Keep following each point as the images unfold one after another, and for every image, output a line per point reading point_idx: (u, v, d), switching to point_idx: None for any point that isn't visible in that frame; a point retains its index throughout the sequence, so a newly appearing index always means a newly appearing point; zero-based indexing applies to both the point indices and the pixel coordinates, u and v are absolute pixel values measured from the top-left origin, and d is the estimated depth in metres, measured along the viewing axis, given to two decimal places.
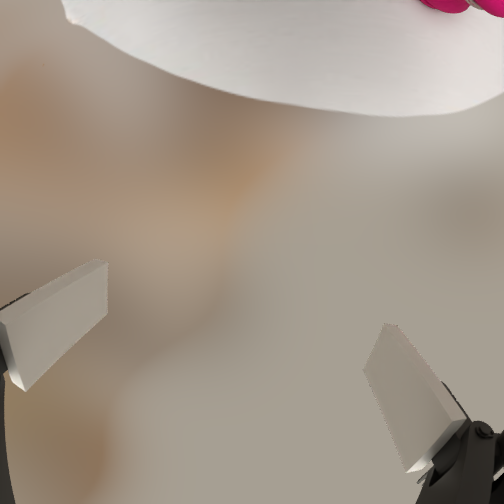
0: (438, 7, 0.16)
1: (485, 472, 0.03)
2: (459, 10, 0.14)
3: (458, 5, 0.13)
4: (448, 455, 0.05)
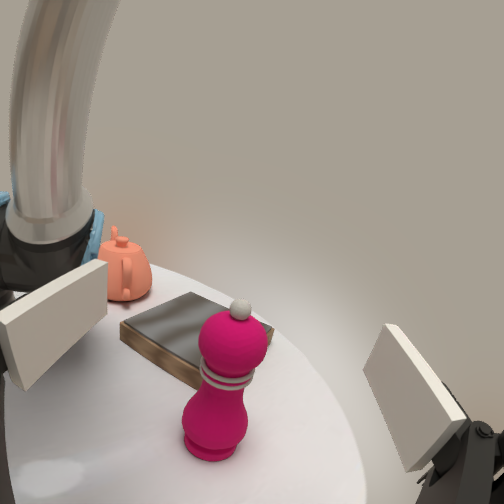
0: (230, 442, 0.23)
1: (485, 472, 0.03)
2: (244, 420, 0.25)
3: (237, 413, 0.24)
4: (448, 455, 0.05)
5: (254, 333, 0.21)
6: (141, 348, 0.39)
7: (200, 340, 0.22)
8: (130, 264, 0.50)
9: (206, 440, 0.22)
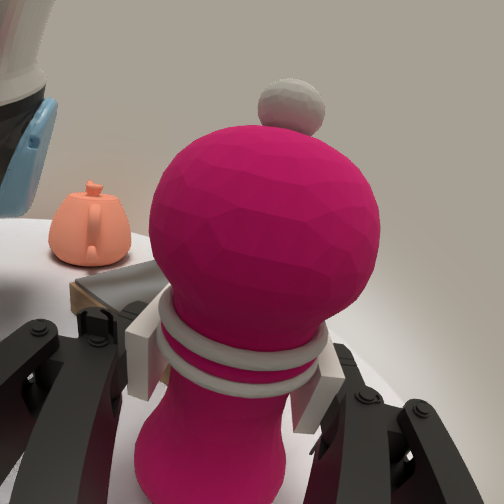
0: None
1: (376, 445, 0.05)
2: (281, 466, 0.09)
3: (269, 456, 0.08)
4: (331, 425, 0.07)
5: (350, 162, 0.06)
6: None
7: (152, 202, 0.06)
8: (98, 210, 0.34)
9: None
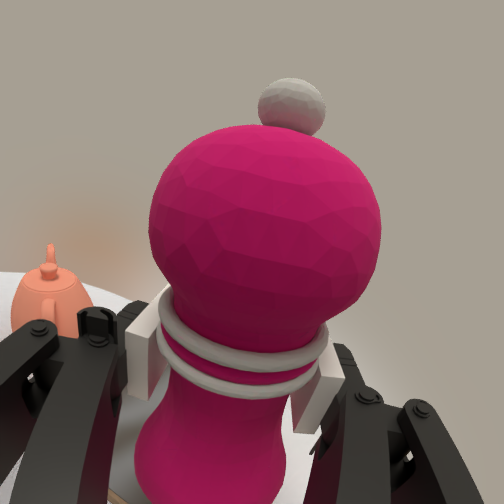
0: None
1: (376, 445, 0.05)
2: (282, 466, 0.09)
3: (269, 457, 0.08)
4: (331, 425, 0.07)
5: (350, 162, 0.06)
6: None
7: (152, 202, 0.06)
8: (51, 311, 0.27)
9: None
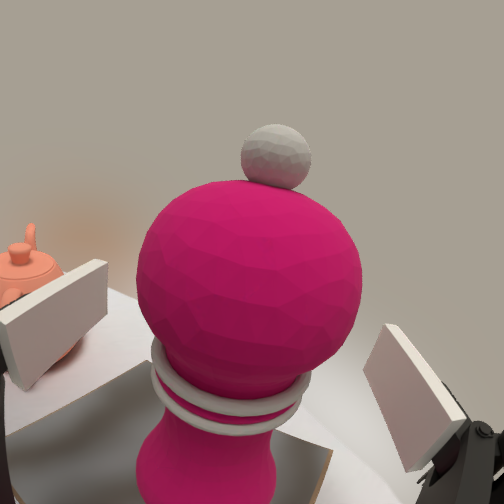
0: None
1: (484, 472, 0.03)
2: (271, 481, 0.09)
3: (258, 475, 0.08)
4: (448, 455, 0.05)
5: (332, 224, 0.06)
6: None
7: (138, 262, 0.06)
8: None
9: None
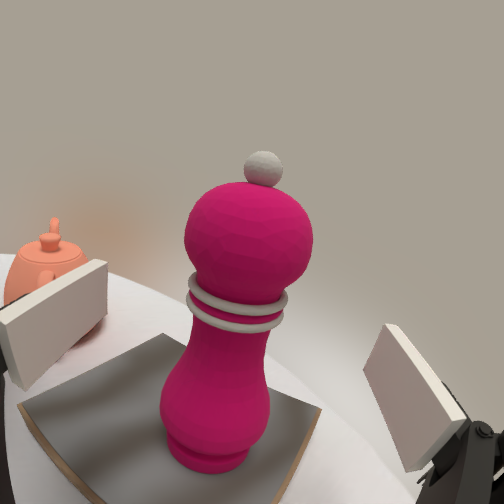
0: (241, 442, 0.13)
1: (484, 472, 0.03)
2: (265, 402, 0.14)
3: (255, 389, 0.14)
4: (448, 455, 0.05)
5: (291, 204, 0.11)
6: (55, 463, 0.12)
7: (187, 226, 0.12)
8: None
9: (198, 439, 0.12)
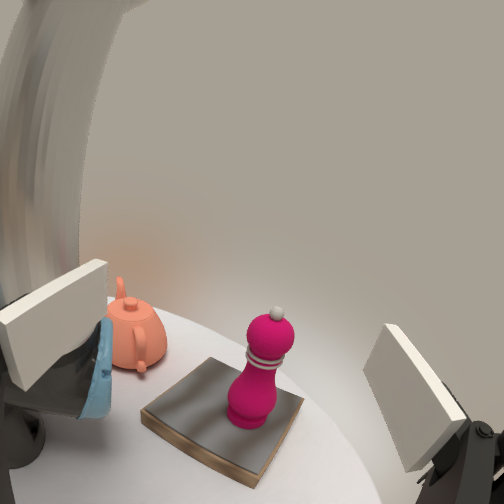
0: (265, 411, 0.34)
1: (485, 473, 0.03)
2: (275, 393, 0.35)
3: (271, 388, 0.34)
4: (448, 455, 0.05)
5: (286, 329, 0.32)
6: (167, 437, 0.33)
7: (249, 335, 0.33)
8: (143, 337, 0.43)
9: (248, 410, 0.33)
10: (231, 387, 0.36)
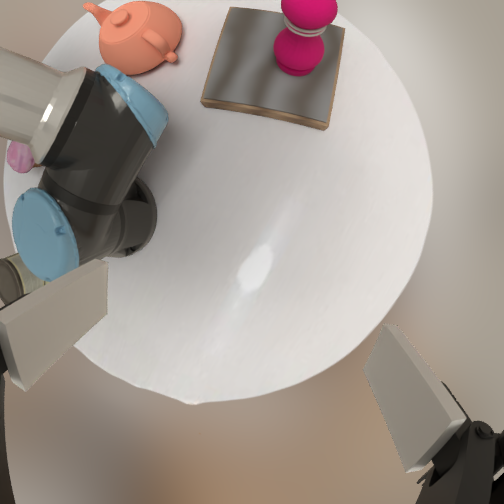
0: (317, 62, 0.31)
1: (484, 472, 0.03)
2: (322, 45, 0.28)
3: (319, 43, 0.27)
4: (448, 455, 0.05)
5: (329, 4, 0.18)
6: (235, 109, 0.40)
7: (287, 13, 0.20)
8: (158, 37, 0.30)
9: (301, 66, 0.31)
10: (276, 47, 0.29)
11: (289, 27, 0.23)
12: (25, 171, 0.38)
